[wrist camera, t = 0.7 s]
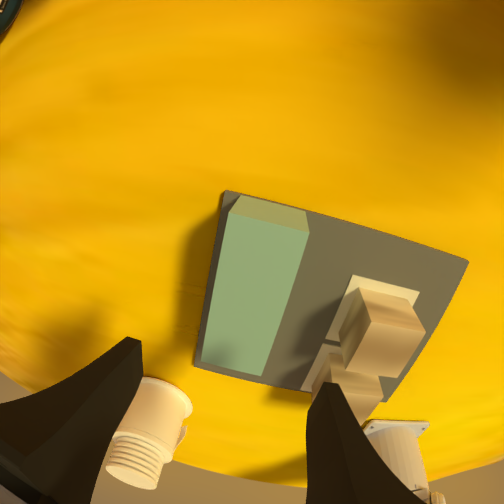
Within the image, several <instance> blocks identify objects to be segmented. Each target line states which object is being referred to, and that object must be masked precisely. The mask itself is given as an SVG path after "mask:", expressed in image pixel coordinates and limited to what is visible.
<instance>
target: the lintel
mask: <svg viewBox="0 0 504 504" xmlns="http://www.w3.org/2000/svg"><path fill="white" fill-rule="evenodd" d="M308 236H309V227H308V222H307V217H306V212H305V211H302V210H299V209H295V208H291V207H287V206H283V205H280V204H276V203H272V202H268V201H264V200H260V199H256V198H251V197H247V196H243V195H241V196H240V197H239V198H238V200H237V201H236V203H235V204H234V206H233V207H232V208H231V210H230V211H229V213H228V218H227V223H226V228H225V233H224V238H223V243H222V248H221V253H220V258H219V263H218V268H217V273H216V279H215V284H214V289H213V295H212V300H211V305H210V311H209V316H208V322H207V327H206V333H205V339H204V345H203V350H202V356H201V361H202V362H206V363H209V364H213V365H217V366H220V367H224V368H228V369H232V370H236V371H240V372H245V373H249V374H253V375H258V376H261V375H262V372H263V370H264V367H265V364H266V362H267V359H268V356H269V353H270V350H271V348H272V345H273V342H274V339H275V336H276V334H277V331H278V328H279V325H280V322H281V319H282V316H283V313H284V310H285V308H286V305H287V302H288V299H289V296H290V293H291V290H292V287H293V284H294V280H295V277H296V274H297V271H298V268H299V265H300V262H301V259H302V256H303V252H304V249H305V246H306V243H307V240H308Z"/></svg>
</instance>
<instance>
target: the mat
mask: <svg viewBox="0 0 504 504" xmlns="http://www.w3.org/2000/svg"><path fill="white" fill-rule="evenodd" d="M241 195H243V196H247V197H251V198H256V199H260V200H264V201H268V202H272V203H276V204H280V205H283V206H287V207H291V208H295V209H299V210H302V211H305V212H306V217H307V222H308V227H309V236H308V240H307V243H306V246H305V249H304V252H303V256H302V259H301V262H300V265H299V268H298V271H297V274H296V277H295V280H294V284H293V287H292V290H291V293H290V296H289V299H288V302H287V305H286V308H285V310H284V313H283V316H282V319H281V322H280V325H279V328H278V331H277V334H276V336H275V339H274V342H273V345H272V348H271V350H270V353H269V356H268V359H267V362H266V364H265V367H264V370H263V372H262V375H261V376H258V375H253V374H249V373H245V372H240V371H236V370H232V369H228V368H224V367H220V366H217V365H213V364H209V363H206V362H202V361H201V356H202V350H203V345H204V339H205V333H206V327H207V322H208V316H209V311H210V305H211V300H212V295H213V289H214V284H215V279H216V273H217V268H218V263H219V258H220V253H221V248H222V243H223V238H224V233H225V228H226V223H227V218H228V213H229V211H230V210H231V208H232V207H233V206H234V204H235V203H236V201H237V200H238V198H239V197H240V196H241ZM468 264H469V261H468V260H466V259H463V258H461V257H458V256H455V255H452V254H449V253H446V252H443V251H440V250H437V249H434V248H431V247H428V246H425V245H422V244H419V243H416V242H413V241H410V240H407V239H404V238H401V237H398V236H394V235H391V234H388V233H385V232H381V231H378V230H375V229H372V228H368V227H365V226H362V225H358V224H355V223H351V222H348V221H344V220H341V219H337V218H334V217H330V216H327V215H323V214H319V213H316V212H312V211H308V210H305V209H301V208H297V207H293V206H290V205H286V204H282V203H278V202H274V201H270V200H266V199H262V198H258V197H254V196H250V195H246V194H241V193H237V192H233V191H229V190H226V191H225V193H224V198H223V203H222V208H221V213H220V218H219V223H218V228H217V234H216V239H215V244H214V250H213V255H212V260H211V266H210V271H209V277H208V283H207V288H206V294H205V300H204V306H203V312H202V318H201V324H200V330H199V336H198V343H197V349H196V356H195V362H194V367H197V368H201V369H204V370H208V371H212V372H215V373H219V374H223V375H227V376H231V377H235V378H239V379H243V380H248V381H252V382H256V383H261V384H266V385H270V386H275V387H280V388H285V389H291V390H296V391H302V392H308V393H312V388H311V386H312V384H313V382H314V380H315V378H316V377H317V375H318V373H319V371H320V369H321V367H322V365H323V363H324V361H325V359H326V357H327V355H328V353H333V354H338V355H342V350H341V345H340V340H339V334H338V333H339V330H340V328H341V326H342V324H343V322H344V320H345V318H346V315H347V313H348V311H349V309H350V306H351V304H352V302H353V300H354V297H355V295H356V293H357V290H358V288H359V287H360V288H364V289H368V290H372V291H376V292H380V293H385V294H389V295H393V296H397V297H401V298H405V299H408V301H409V303H410V304H411V306H412V308H413V310H414V311H415V313H416V315H417V317H418V318H419V320H420V322H421V324H422V326H423V327H424V329H425V331H426V333H425V335H424V337H423V338H422V340H421V342H420V343H419V345H418V347H417V348H416V350H415V351H414V353H413V355H412V356H411V358H410V359H409V361H408V362H407V364H406V365H405V367H404V369H403V370H402V372H401V373H400V374H399V376H398V377H397V378H394V377H385V376H378V377H379V381H380V385H381V388H382V392H383V396H384V397H383V398H382V400H381V401H380V402H387V401H388V399H389V398H390V397H391V395H392V394H393V392H394V391H395V390H396V388H397V387H398V386H399V384H400V383H401V381H402V380H403V379H404V377H405V376H406V374H407V373H408V371H409V370H410V368H411V367H412V365H413V364H414V362H415V361H416V359H417V358H418V356H419V355H420V353H421V352H422V350H423V348H424V347H425V345H426V343H427V342H428V340H429V339H430V337H431V335H432V333H433V332H434V330H435V328H436V327H437V325H438V323H439V321H440V320H441V318H442V316H443V314H444V312H445V310H446V309H447V307H448V305H449V303H450V301H451V299H452V297H453V295H454V293H455V291H456V289H457V287H458V285H459V283H460V281H461V279H462V277H463V275H464V272H465V270H466V268H467V266H468Z"/></svg>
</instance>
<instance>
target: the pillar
mask: <svg viewBox="0 0 504 504" xmlns="http://www.w3.org/2000/svg"><path fill="white" fill-rule="evenodd" d="M425 333H426V331H425V329H424V327H423V326H422V324H421V322H420V320H419V318H418V317H417V315H416V313H415V311H414V310H413V308H412V306H411V304H410V303H409V301H408V299H405V298H401V297H397V296H393V295H389V294H385V293H380V292H376V291H372V290H368V289H364V288H360V287H359V288H358V290H357V293H356V295H355V297H354V300H353V302H352V304H351V306H350V309H349V311H348V313H347V315H346V318H345V320H344V322H343V324H342V326H341V328H340V330H339V333H338V334H339V340H340V345H341V350H342V356H343V362H344V367H345V371H350V372H356V373H363V374H370V375H378V376H385V377H394V378H397V377H398V376H399V374H400V373H401V372H402V370H403V369H404V367H405V365H406V364H407V362H408V361H409V359H410V358H411V356H412V355H413V353H414V351H415V350H416V348H417V347H418V345H419V343H420V342H421V340H422V338H423V337H424V335H425Z"/></svg>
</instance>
